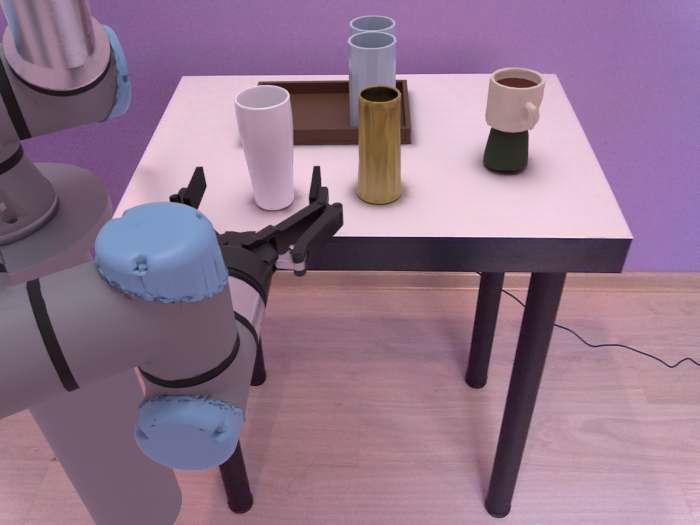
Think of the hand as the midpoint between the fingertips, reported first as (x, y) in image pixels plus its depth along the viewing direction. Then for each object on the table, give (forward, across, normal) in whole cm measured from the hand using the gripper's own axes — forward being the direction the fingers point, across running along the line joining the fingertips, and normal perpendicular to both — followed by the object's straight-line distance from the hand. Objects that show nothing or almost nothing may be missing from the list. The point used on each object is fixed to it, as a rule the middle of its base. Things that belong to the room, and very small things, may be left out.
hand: (259, 176), depth 72 cm
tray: (+32, +6, -9) cm, 33 cm away
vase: (+10, +14, -9) cm, 19 cm away
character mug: (+17, +32, -9) cm, 37 cm away
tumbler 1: (+35, +13, -9) cm, 38 cm away
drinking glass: (+8, 0, -9) cm, 12 cm away
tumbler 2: (+28, +13, -9) cm, 32 cm away
